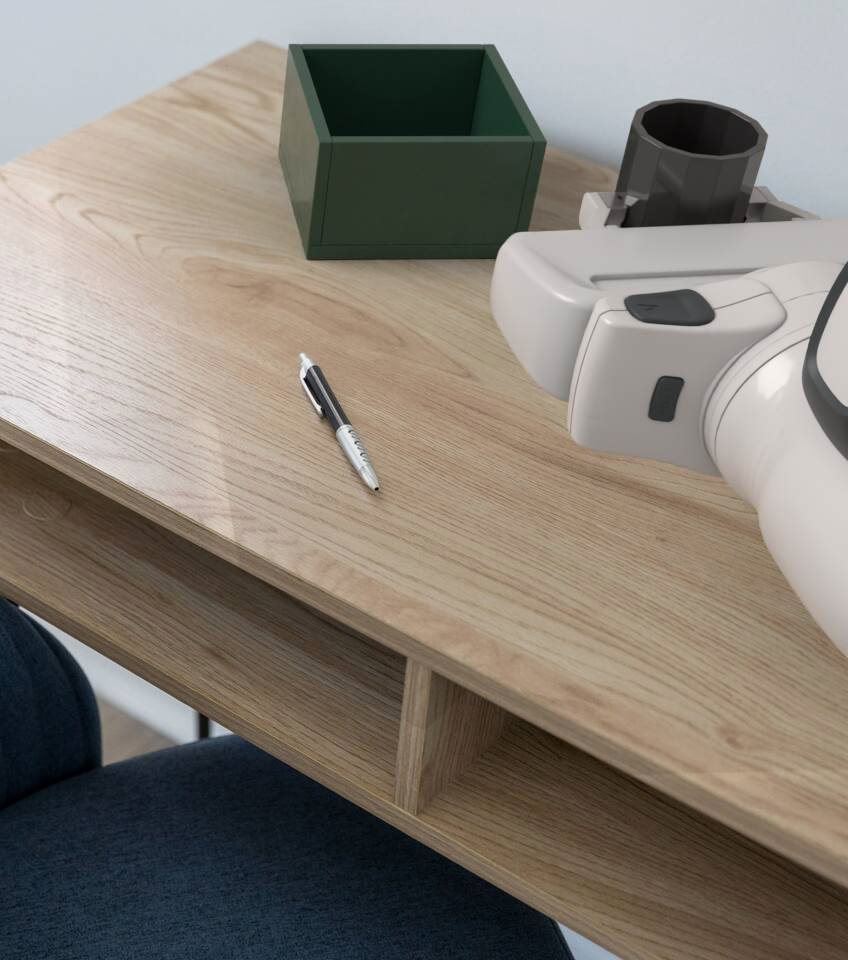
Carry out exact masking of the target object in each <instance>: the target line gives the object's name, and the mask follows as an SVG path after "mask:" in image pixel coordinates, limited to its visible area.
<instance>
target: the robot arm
mask: <svg viewBox="0 0 848 960" xmlns="http://www.w3.org/2000/svg"><path fill="white" fill-rule="evenodd" d="M627 209H628V207H627V205H626V204H624V203H623V201H622V199H620V198H619V194H618V192H615V191H603V192H601V191H599V192H598V191H594V192H585V193H584V195H583V196H582V201H581V205H580V210H579V214H578V223H579V227H580V229H567V230H543V231H542V230H541V231H539V230H538V231H528V232H518V233H515V234H513V235H511V236H510V237H509V238H508V239H507V240H506V241H505V243H504V244H503V245H502V247H501V248H500V250H499V252H498V255H497V258H495V263H494V267H493V272H492V276H491V283H490V291H489V306H490V307H489V308H490V312H491V315H492V317H493V320H494V322H495V324H496V325H497V327H498V330H499V331H500V333H501V335H502V337H503V338H504V340H505V342H506V344H507V345H508V348H509V349H510V350H511V352H512V353H513V355H514V356H515V359H517V361H518V362H519V364H520V366H521V367H522V368H523V370H524V371H525V372H526V374H527V376H529V378H530V379H531V380H532V381H533V382H534V383H535V384H536V386H538V387H539V388H540V389H541V390H542V391H544V392H545V393H547V394H548V395H550V396H551V397H553V398H555V399H557V400H559V401H562V402H565V403H567V413H566V428H567V431H568V433H569V435H570V437H571V439H572V440H573V441H574V443H576V445H578V446H579V447H582V448H583V449H586V450H588V451H592V452H596V453H597V452H598V453H604V454H610V455H617V456H625V457H629V458H630V457H631V458H637V459H643V460H648V461H654V462H658V463H663V464H667V465H672V466H675V467H679V468H684V469H687V470H690V471H692V472H696V473H699V474H702V475H704V476H705V475H706V476H708V477H713V478H718V479H724V482H725V483H726V484H727V485H728V486H729V488H730V489H731V490H732V491H733V493H735V494H736V495H737V496H738V498H740V500H742V501H744V502H745V503H746V504H747V505H748V506H750V507H752V508H754V510H755V511H756V513H757V518H758V524H759V529H760V532H761V536H762V539H763V542H764V544H765V546H766V548H767V551H768V552H769V554H770V555H771V557H772V558H773V560H774V562H775V564H776V565H777V567H778V568H779V571H780V572H781V573H782V575H783V576H784V578H785V580H786V581H787V584H788V585H789V586H790V587H791V589H792V590H793V592H794V594H795V595H796V597H797V598H798V599H799V601H800V602H801V604H802V605H803V606H804V608H805V610H806V611H807V612H808V613H809V615H810V616H811V618H812V619H813V620H814V621H815V623H816V624H817V625H818V627H819V628H820V629H821V631H822V632H823V633H824V634H825V636H827V638H828V639H829V640H830V641H831V643H832V644H833V645H834V646H835V647H836V648H837V649H838V650H839V652H841V654H842V655H844V657H845V658H846V659H847V660H848V218H831V219H822V218H821V217H820V216H819V215H816V214H814V213H812V212H809V211H806V210H805V209H802V208H799V207H797V206H794V205H792V204H790V203H787V202H784V201H783V200H779V199H778V198H777V197H776V196H775V195H774V194H773V192H772V191H771V190H770V189H769V188H768V186H767V185H754V188H753V191H752V194H751V198H750V201H749V204H748V208H747V211H746V214H745V218H744V221H743V223H732V224H709V225H685V226H661V227H637V228H622V226H621V224H622V223H623V221H624V220H625V218H626V214H627Z"/></svg>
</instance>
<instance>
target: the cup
mask: <svg viewBox="0 0 848 960" xmlns="http://www.w3.org/2000/svg"><path fill="white" fill-rule="evenodd" d="M768 138H769V134H768V132H767V131H766V130H765V129H764V127H763V126H762V125H761V123H760V122H759V121H758V120H756V119H755V118H753V117H751V116H749V115H747V114H746V113H744V112H742V111H740V110H739V109H736V108H733V107H731V106H727V105H724V104H720V103H717V102H713V101H709V100H702V99H690V98H680V97H679V98H678V97H677V98H669V99H661V100H654V101H651V102H649V103H647V104H644V105H643V106H641V107H639V108H637V109H636V110H635V112H634V115H633V118H632V120H631V124H630V128H629V132H628V135H627V140H626V145H625V148H624V152H623V157H622V160H621V165H620V169H619V173H618V177H617V182H616V186H615V190H614V192H618V194H619V198H620V199H622V201H623V203H624V204H626V205H627V207H628V209H627V214H626V218H625V220H624V221H623V223H622V224H621V226H622V228H637V227H661V226H685V225H709V224H732V223H743V221H744V218H745V214H746V211H747V208H748V204H749V201H750V198H751V194H752V191H753V188H754V186H755V185H756V181H757V178H758V174H759V171H760V168H761V164H762V161H763V158H764V154H765V152H766V151H765V150H766V148H767V142H768V140H769V139H768Z"/></svg>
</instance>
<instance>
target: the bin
mask: <svg viewBox="0 0 848 960" xmlns="http://www.w3.org/2000/svg"><path fill="white" fill-rule="evenodd" d="M287 46H288V47H287V57H286V69H285V78H284V89H283V98H282V99H283V100H282V108H281V109H282V110H281V120H280V129H279V130H280V132H279V143H278V151H277V152H278V153H277V155H278V159H279V162H280V166H281V171H282V173H283V178H284V181H285V185H286V189H287V192H288V196H289V200H290V204H291V206H292V210H293V214H294V219H295V222H296V225H297V230H298V233H299V237H300V240H301V244H302V247H303V251H304V256H305V259H306V260H407V259H408V260H409V259H410V260H413V259H415V260H416V259H417V260H418V259H419V260H420V259H422V260H423V259H424V260H425V259H428V260H429V259H497V255H498V252H499V250H500V248H501V247H502V245H503V244H504V243H505V241H506V240H507V239H508V238H509V237H510V236H511V235H513V234H515V233H518V232H530V231H529V229H530V225H531V221H532V216H533V211H534V206H535V202H536V197H537V192H538V187H539V182H540V178H541V173H542V168H543V164H544V160H545V155H546V150H547V145H548V141H547V139H546V137H545V135H544V134H543V131H542V129H541V128H540V126H539V124H538V122H537V120H536V119H535V116H534V115H533V114H532V112H531V109H530V108H529V106H528V104H527V101H525V99H524V97H523V95H522V93H521V91H520V89H519V87H518V86H517V84H516V82H515V80H514V78H513V76H512V74H511V73H510V71H509V69H508V67H507V65H506V63H505V62H504V60H503V58H502V56H501V54H500V52H499V51H498V49H497V47H496V45H495V43H289V44H288V45H287Z"/></svg>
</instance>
